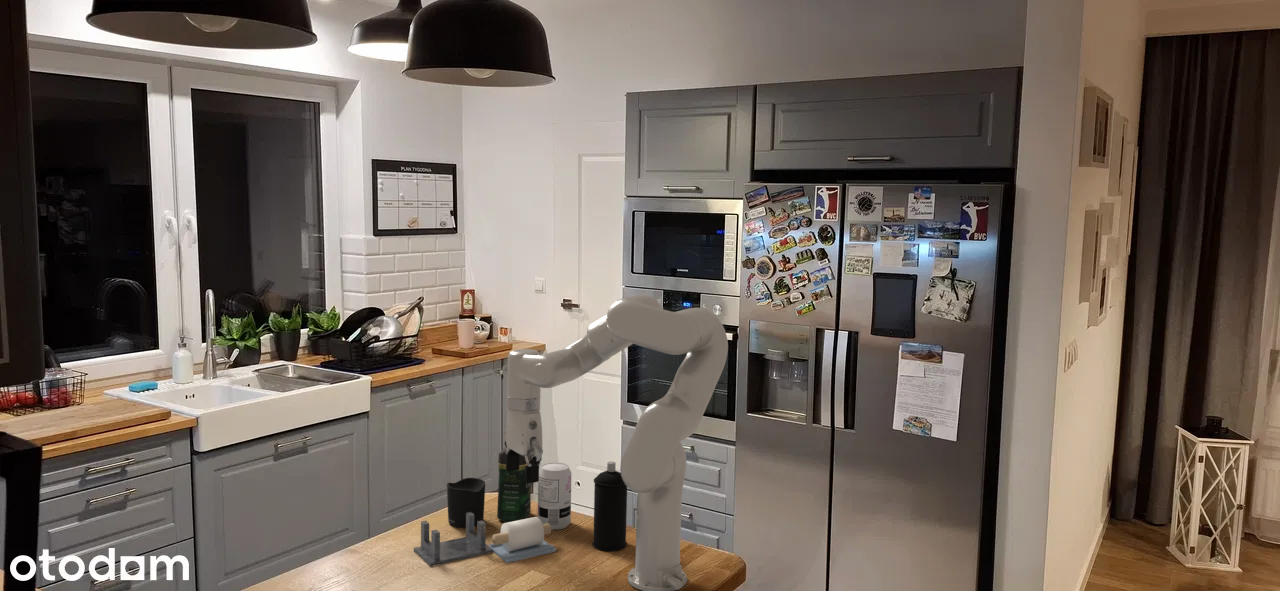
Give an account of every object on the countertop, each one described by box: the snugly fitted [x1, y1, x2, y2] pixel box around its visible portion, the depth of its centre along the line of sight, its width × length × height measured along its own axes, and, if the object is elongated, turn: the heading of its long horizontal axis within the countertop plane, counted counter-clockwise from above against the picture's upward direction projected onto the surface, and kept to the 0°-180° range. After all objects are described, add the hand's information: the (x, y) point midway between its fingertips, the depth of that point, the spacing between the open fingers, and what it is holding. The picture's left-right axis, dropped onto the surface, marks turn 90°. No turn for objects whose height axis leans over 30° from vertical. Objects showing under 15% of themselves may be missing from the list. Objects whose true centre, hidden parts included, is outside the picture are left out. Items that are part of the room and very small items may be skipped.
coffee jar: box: [496, 447, 533, 523], centre depth 220 cm, size 10×8×19 cm
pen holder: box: [446, 477, 486, 529], centre depth 216 cm, size 9×9×10 cm
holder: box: [413, 512, 494, 567], centre depth 197 cm, size 15×10×7 cm, turn 125°
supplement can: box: [537, 462, 572, 531], centre depth 215 cm, size 8×8×15 cm
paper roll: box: [491, 516, 552, 552], centre depth 199 cm, size 14×6×6 cm, turn 125°
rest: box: [487, 540, 557, 564], centre depth 200 cm, size 13×10×1 cm
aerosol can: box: [592, 461, 628, 552], centre depth 203 cm, size 8×8×20 cm
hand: (522, 476), depth 198 cm, fingers open, 9 cm apart
